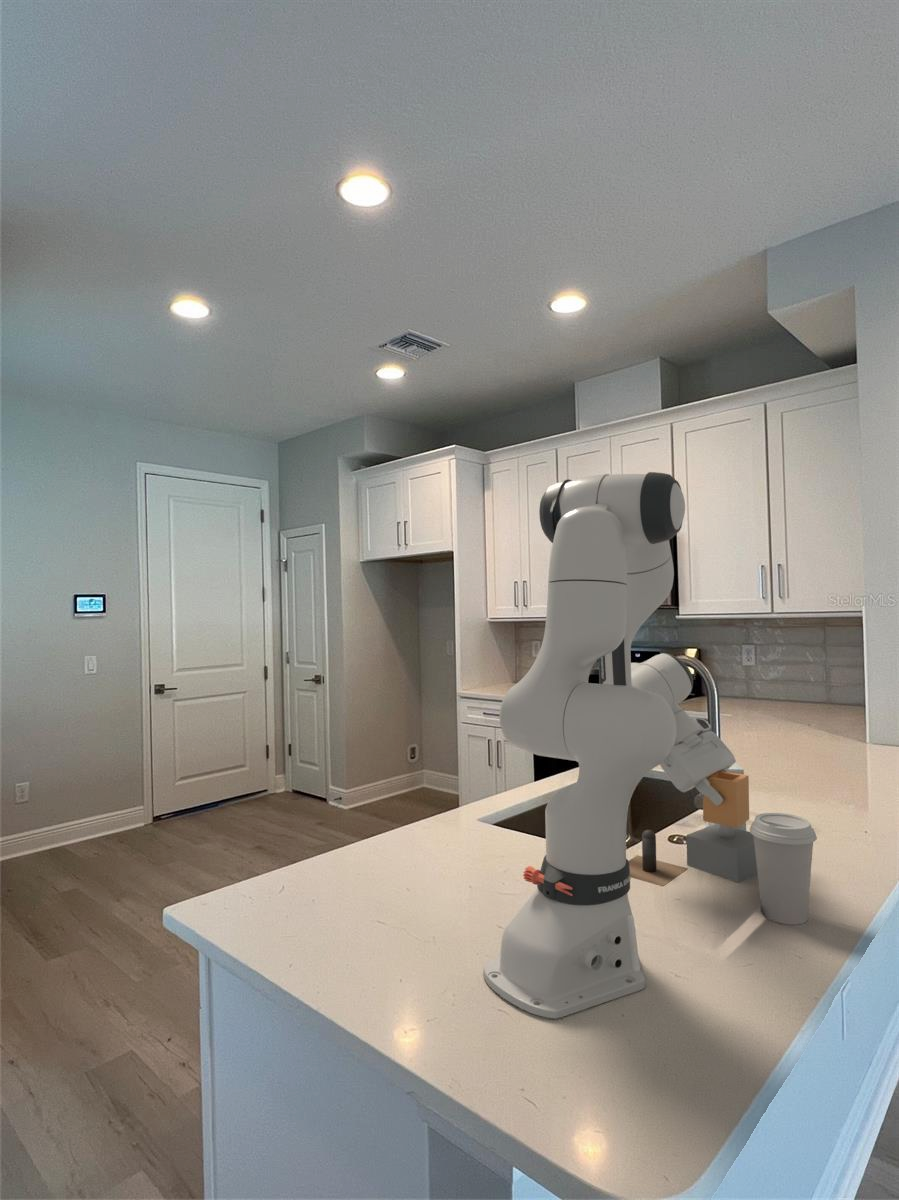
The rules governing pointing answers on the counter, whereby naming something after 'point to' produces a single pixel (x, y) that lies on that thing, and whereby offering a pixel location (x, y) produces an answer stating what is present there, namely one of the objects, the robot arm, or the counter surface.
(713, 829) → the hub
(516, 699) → the robot arm
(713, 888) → the counter surface
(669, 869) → the stand
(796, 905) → the coffee cup
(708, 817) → the sleeve
